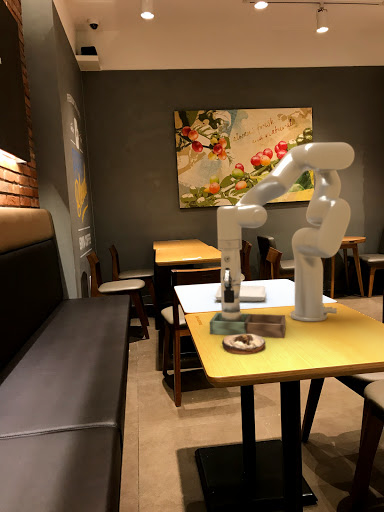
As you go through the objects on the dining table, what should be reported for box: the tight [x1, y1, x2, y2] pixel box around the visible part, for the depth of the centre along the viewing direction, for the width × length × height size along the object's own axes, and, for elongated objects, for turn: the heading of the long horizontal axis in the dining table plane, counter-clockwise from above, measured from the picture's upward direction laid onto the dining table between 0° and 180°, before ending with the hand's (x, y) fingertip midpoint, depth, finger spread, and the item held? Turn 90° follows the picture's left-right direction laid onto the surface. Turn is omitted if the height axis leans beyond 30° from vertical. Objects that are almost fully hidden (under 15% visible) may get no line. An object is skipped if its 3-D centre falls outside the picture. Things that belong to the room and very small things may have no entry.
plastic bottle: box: [220, 276, 242, 322], centre depth 129 cm, size 6×7×20 cm
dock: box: [209, 312, 286, 339], centre depth 128 cm, size 23×11×4 cm, turn 75°
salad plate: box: [214, 285, 267, 303], centre depth 174 cm, size 21×21×3 cm
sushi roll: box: [221, 334, 266, 355], centre depth 114 cm, size 15×15×4 cm
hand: (231, 299), depth 129 cm, fingers closed on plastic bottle, 6 cm apart
